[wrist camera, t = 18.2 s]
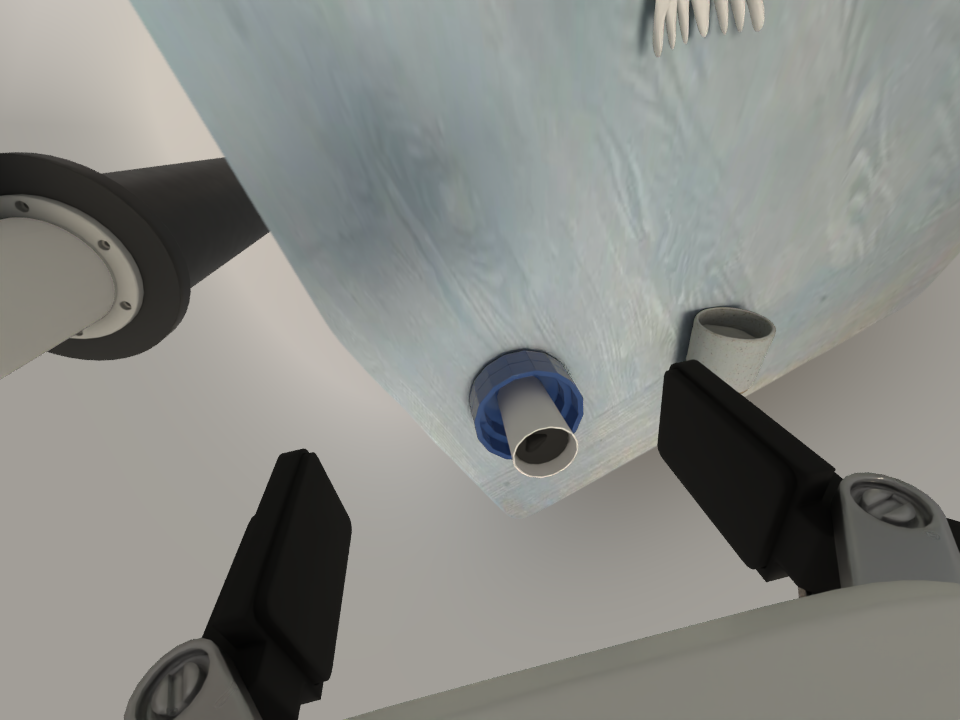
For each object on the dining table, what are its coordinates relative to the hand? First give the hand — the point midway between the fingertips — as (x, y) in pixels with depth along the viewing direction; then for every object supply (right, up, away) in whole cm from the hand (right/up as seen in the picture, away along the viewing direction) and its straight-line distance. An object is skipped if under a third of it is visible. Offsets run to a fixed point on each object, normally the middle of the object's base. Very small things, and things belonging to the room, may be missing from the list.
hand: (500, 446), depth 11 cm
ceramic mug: (+28, +6, +38) cm, 47 cm away
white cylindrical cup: (+4, -2, +37) cm, 37 cm away
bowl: (+4, -2, +37) cm, 37 cm away
